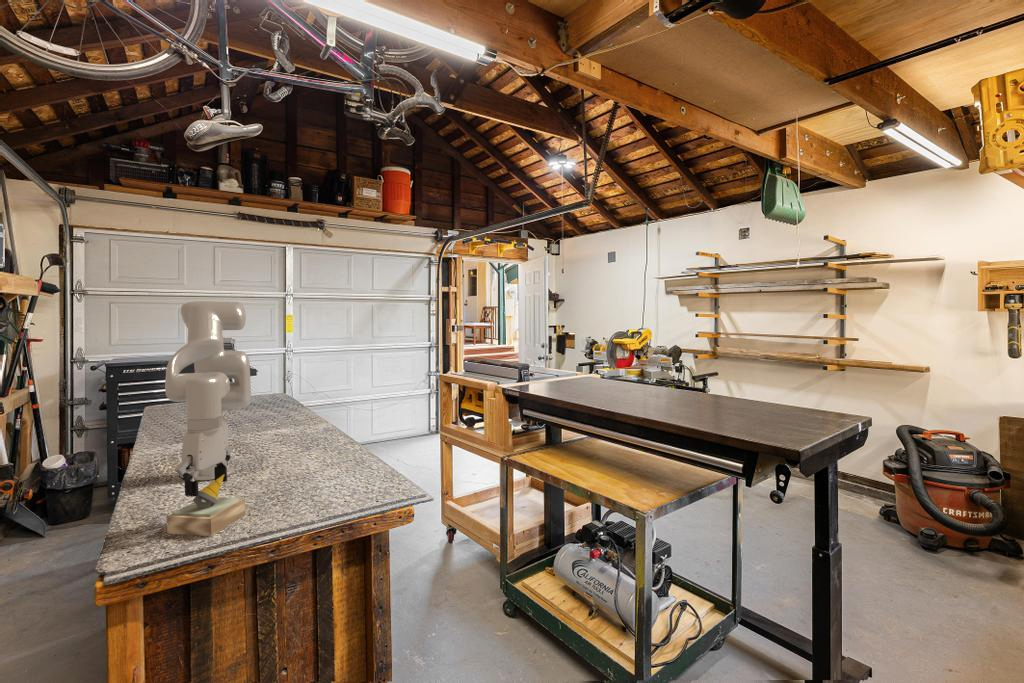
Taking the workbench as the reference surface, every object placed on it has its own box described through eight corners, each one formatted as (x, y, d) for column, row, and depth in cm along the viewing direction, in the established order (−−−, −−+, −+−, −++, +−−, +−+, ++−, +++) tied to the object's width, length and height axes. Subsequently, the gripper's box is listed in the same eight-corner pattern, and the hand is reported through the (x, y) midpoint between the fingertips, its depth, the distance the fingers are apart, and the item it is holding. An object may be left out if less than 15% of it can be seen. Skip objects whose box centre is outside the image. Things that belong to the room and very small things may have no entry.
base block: (167, 533, 113) (166, 513, 112) (205, 512, 124) (204, 495, 124) (211, 536, 111) (210, 516, 111) (245, 514, 123) (244, 497, 123)
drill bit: (189, 507, 117) (217, 473, 123) (209, 516, 117) (235, 481, 123) (184, 502, 113) (212, 466, 119) (203, 511, 113) (231, 475, 119)
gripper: (216, 416, 125) (218, 475, 126) (162, 432, 108) (164, 501, 109) (241, 416, 125) (243, 477, 126) (190, 433, 107) (193, 502, 108)
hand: (206, 488), depth 117 cm, fingers open, 9 cm apart
